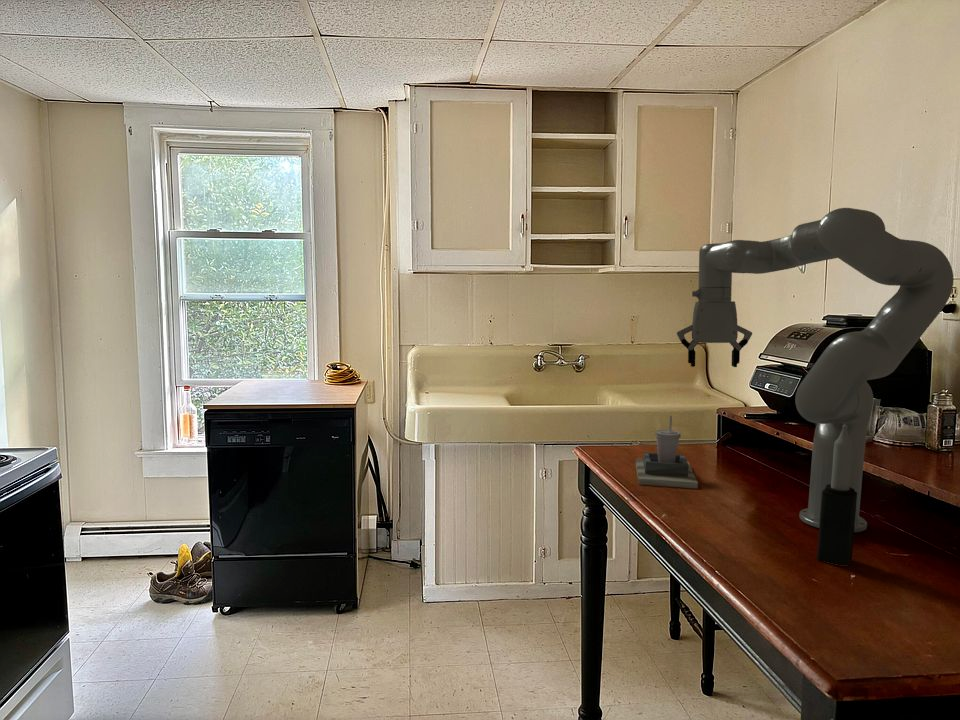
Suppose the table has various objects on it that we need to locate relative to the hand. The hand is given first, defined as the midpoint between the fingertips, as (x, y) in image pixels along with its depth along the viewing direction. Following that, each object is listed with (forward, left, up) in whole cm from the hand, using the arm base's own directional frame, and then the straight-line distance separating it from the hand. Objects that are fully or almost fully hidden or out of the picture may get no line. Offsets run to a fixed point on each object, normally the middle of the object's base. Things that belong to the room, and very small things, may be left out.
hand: (713, 366), depth 163 cm
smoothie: (+6, +9, -28) cm, 30 cm away
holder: (+7, +10, -30) cm, 32 cm away
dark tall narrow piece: (-43, -16, -30) cm, 55 cm away
